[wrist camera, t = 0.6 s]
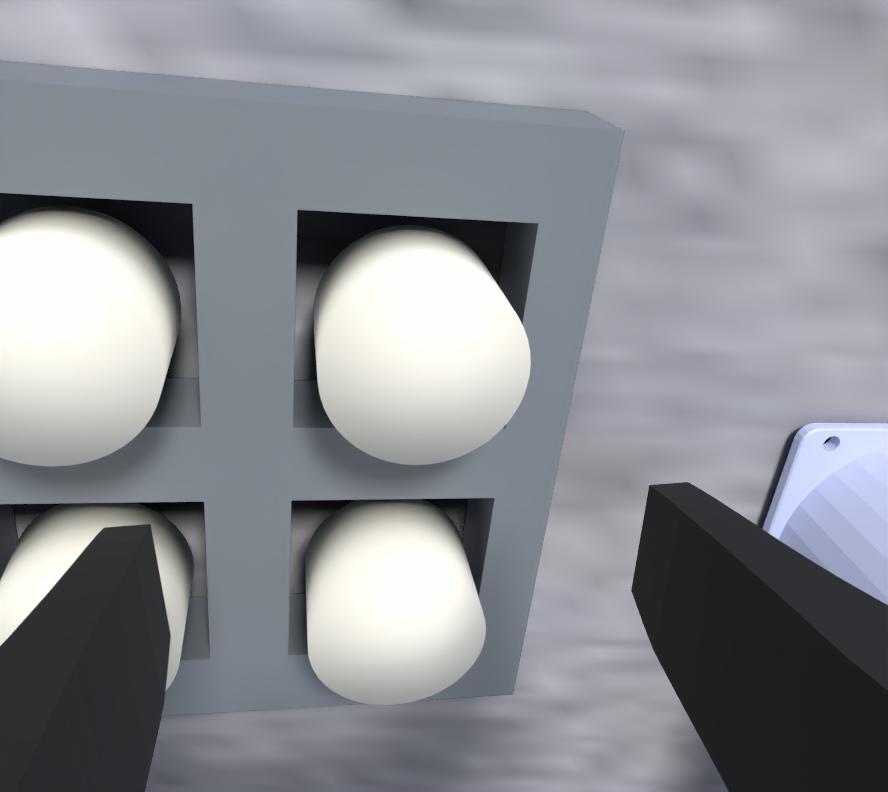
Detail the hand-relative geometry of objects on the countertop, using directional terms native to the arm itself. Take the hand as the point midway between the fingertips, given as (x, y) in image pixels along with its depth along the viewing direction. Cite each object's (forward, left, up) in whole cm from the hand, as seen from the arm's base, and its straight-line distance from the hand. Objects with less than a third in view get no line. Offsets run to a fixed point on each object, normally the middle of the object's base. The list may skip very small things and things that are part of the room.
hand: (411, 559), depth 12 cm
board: (+3, +3, -9) cm, 10 cm away
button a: (-1, -1, -8) cm, 8 cm away
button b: (+6, -1, -8) cm, 10 cm away
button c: (-1, +6, -8) cm, 10 cm away
